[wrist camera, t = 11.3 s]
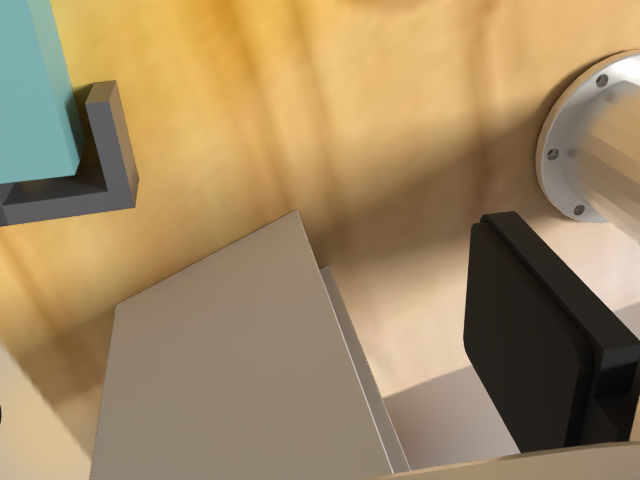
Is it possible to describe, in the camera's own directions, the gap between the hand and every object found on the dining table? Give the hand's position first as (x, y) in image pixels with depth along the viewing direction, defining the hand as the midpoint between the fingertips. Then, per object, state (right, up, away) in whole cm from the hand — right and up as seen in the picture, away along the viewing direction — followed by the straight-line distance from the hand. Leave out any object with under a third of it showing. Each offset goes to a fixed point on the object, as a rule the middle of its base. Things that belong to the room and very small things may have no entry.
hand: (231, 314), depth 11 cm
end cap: (-14, +8, +24) cm, 29 cm away
